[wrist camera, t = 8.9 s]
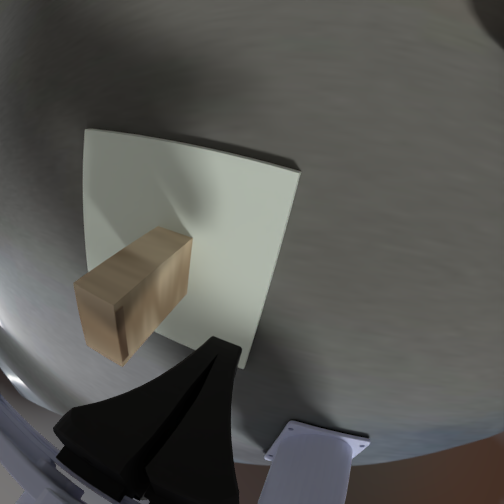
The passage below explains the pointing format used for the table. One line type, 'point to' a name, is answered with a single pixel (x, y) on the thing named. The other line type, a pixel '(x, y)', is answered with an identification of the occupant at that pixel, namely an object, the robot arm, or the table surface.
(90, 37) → the table surface
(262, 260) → the board
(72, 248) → the table surface
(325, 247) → the table surface
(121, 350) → the slab
